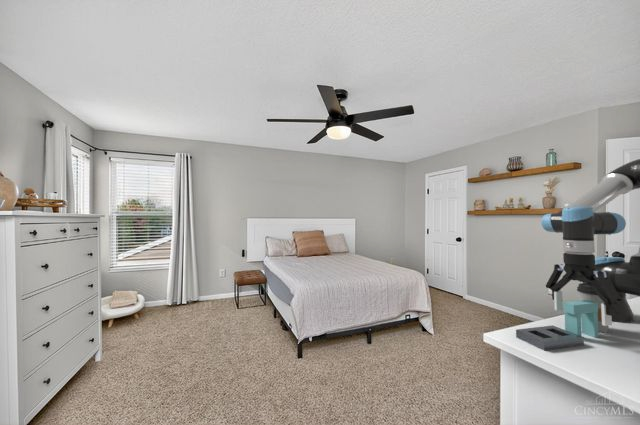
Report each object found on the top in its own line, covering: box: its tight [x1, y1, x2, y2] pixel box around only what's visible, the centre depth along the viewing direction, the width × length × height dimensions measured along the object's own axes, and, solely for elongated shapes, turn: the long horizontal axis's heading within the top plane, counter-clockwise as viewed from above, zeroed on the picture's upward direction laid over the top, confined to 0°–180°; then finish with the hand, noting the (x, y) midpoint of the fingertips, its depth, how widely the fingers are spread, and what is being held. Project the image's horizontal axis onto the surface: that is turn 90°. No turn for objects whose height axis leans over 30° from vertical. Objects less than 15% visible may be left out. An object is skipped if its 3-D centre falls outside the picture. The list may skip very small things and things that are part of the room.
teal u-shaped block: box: [563, 300, 599, 339], centre depth 87 cm, size 10×4×11 cm, turn 101°
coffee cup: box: [576, 282, 609, 333], centre depth 92 cm, size 8×8×15 cm
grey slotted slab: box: [515, 325, 585, 352], centre depth 84 cm, size 15×9×2 cm, turn 101°
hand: (581, 317), depth 87 cm, fingers open, 13 cm apart
